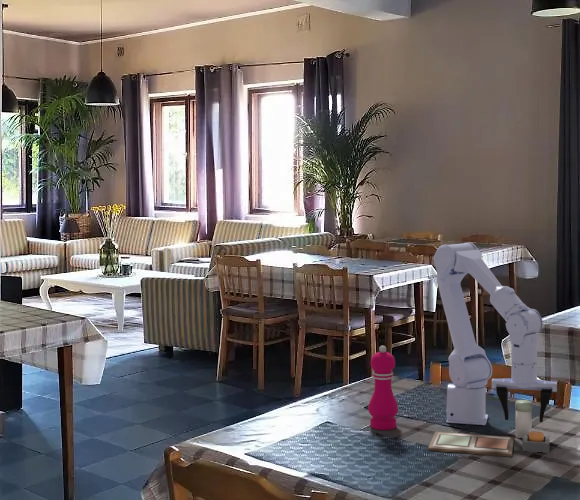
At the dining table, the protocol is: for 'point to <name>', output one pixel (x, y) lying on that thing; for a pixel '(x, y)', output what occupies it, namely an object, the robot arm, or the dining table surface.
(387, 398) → the pepper mill
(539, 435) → the button
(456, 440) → the picture board
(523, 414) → the white and green cylinder
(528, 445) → the button housing
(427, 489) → the dining table surface
